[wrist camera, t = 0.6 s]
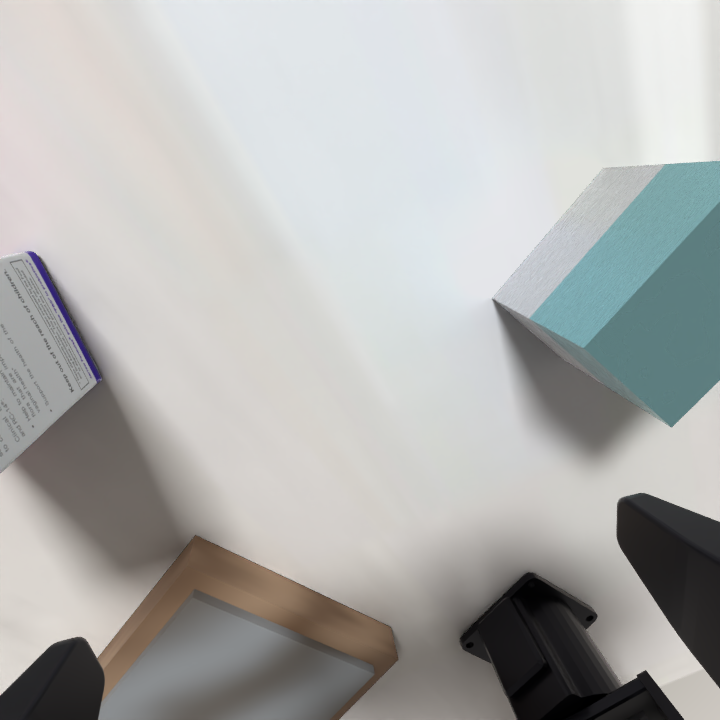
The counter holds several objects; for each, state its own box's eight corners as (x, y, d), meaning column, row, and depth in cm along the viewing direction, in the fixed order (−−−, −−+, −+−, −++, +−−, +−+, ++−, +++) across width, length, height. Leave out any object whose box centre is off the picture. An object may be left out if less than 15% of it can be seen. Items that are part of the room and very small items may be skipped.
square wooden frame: (390, 627, 27) (400, 668, 25) (264, 758, 30) (261, 806, 27) (195, 535, 23) (185, 574, 21) (66, 696, 25) (44, 748, 23)
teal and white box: (602, 168, 19) (759, 158, 13) (667, 241, 21) (836, 266, 15) (491, 297, 21) (583, 348, 14) (560, 357, 22) (671, 427, 16)
